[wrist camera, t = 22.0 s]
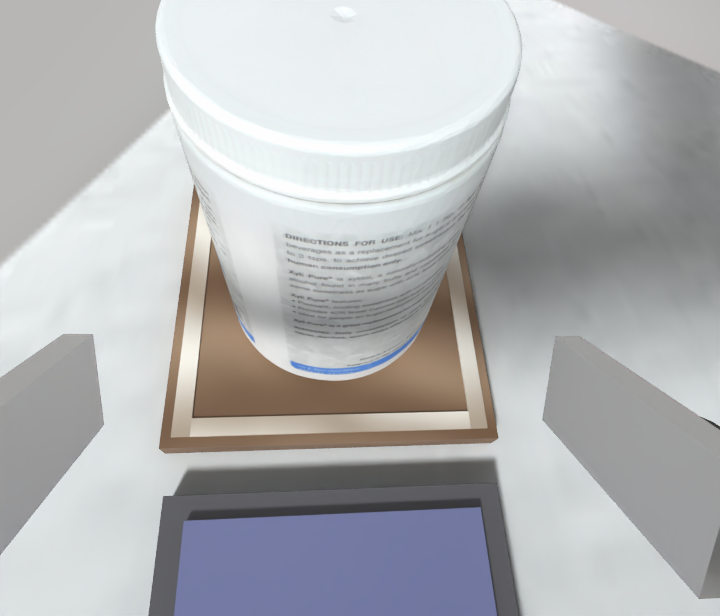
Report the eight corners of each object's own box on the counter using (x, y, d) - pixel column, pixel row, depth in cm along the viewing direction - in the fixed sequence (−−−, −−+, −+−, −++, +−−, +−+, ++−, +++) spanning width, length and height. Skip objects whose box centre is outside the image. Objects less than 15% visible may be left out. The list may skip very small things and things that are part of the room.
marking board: (491, 442, 24) (498, 437, 23) (165, 453, 22) (158, 448, 21) (449, 196, 31) (453, 183, 30) (198, 190, 29) (194, 177, 28)
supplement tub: (451, 270, 27) (582, -11, 14) (373, 424, 23) (459, 227, 10) (294, 197, 28) (281, -121, 15) (193, 329, 24) (55, 45, 11)
